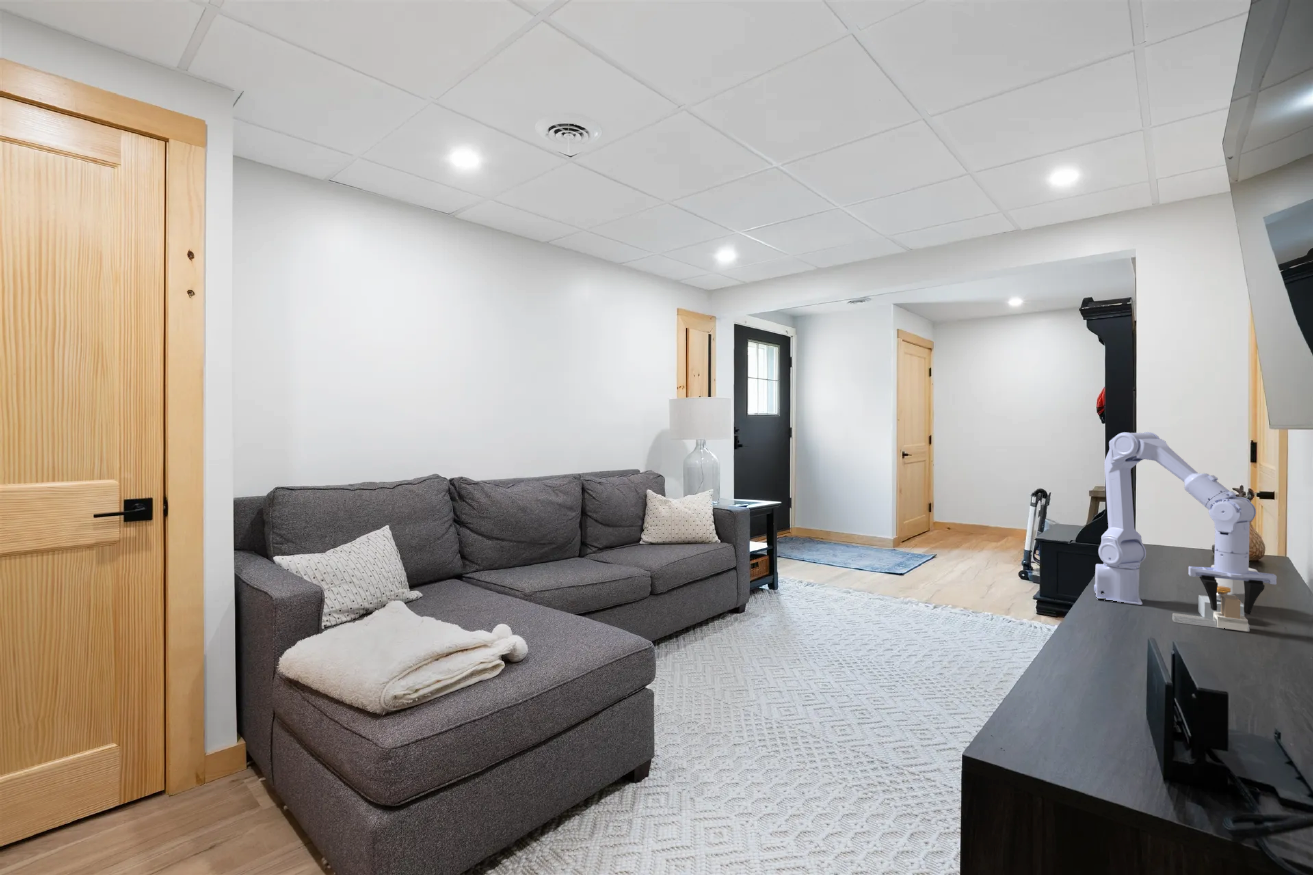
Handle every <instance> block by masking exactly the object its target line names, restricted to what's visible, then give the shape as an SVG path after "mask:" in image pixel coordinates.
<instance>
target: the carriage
mask: <svg viewBox="0 0 1313 875" xmlns="http://www.w3.org/2000/svg"><path fill="white" fill-rule="evenodd" d="M1240 602H1241V599H1240V598H1239V597H1238V596H1237V595H1234V596H1231V595H1222V594H1221V612H1214V611H1213V618H1216V619H1217V627H1218V629H1224V628H1225V629H1226V630H1231V629H1233V631H1239V630H1241V631H1240V632H1247V631H1248V624H1249V620H1248V619H1247V618H1246V616H1245V615H1244V616H1243V615H1240ZM1225 629H1224V630H1225Z"/></svg>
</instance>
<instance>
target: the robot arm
mask: <svg viewBox="0 0 1313 875" xmlns="http://www.w3.org/2000/svg"><path fill="white" fill-rule="evenodd" d="M1108 446H1109V450H1108V452H1107V454H1106V457H1105V459H1104V478H1105V479H1104V480H1105V482H1104V483H1105V495H1106V510H1107V523H1108V524H1107V526H1108V528H1107V529H1106V531H1104V533H1103V534H1102V535H1101V537H1100V538H1101V539H1100V540H1101V542H1100V545H1099V546H1098V551H1097V552H1098V556H1099V558H1100V560H1101V561H1102V562H1103V563H1096V564H1095V571H1094V572H1095V573H1094V584H1093V591H1094V593H1096V595H1095V598H1096V597H1097V598H1106V600H1113V601H1117V602H1116V603H1121V602H1124V603H1123V604H1130V605H1140V606H1141V605H1142V606H1143V602H1142V600H1141V598H1140V591H1139V590H1140V567H1141V563H1142V562H1144V561H1145V560H1146V557H1147V550H1146V547H1145V545H1144V544H1143V540H1142V539H1143V538H1142V535H1141V534H1140V533H1139V532H1138V531H1137V530H1136V529H1135V518H1134V517H1135V516H1134V504H1133V503H1134V502H1133V488H1132V473H1131V472H1132V471H1131V470H1132V468H1134V467H1135V466H1136V465H1137V464H1139V462H1142V461H1143V460H1147V461H1154V462H1156V463H1158V464H1159V465H1160V466H1162V467H1163V468H1164V469H1166V470H1167V471H1169V472H1170V473H1171V474H1172V475H1174V476H1176V477H1177V478H1178V479H1179V480H1180V481H1182V482H1183V484H1184V487H1183V488H1184V490H1185V491H1186V493H1187V494H1189V495H1190V496H1192V497H1193V498H1194V499H1195V500H1197V501H1198V502H1199V503H1200V504H1201V505H1202V506H1203V507H1205V508H1206V509H1207V510H1208V515H1209V517H1210V518H1211V520H1212V521H1213V523H1214V555H1213V556H1214V561H1213V565H1214V568H1213V567H1211V566H1210V567H1208V566H1190V565H1189V566H1188V575H1189V577H1199V579H1200V581H1201V582H1202V585H1203V587H1204V589H1205V591H1206V595H1207V596H1208V597H1209V600H1210V605H1211V609H1212V610H1215V611H1217V587H1218V583H1217V582H1216V579H1215V578H1221V579H1231V580H1241V581H1244V591H1245V594H1244V601H1243V603H1244V614H1246V615H1252V614H1251V613H1252V610H1253V607H1254V604H1255V603H1256V601H1257V599H1258V597H1259V596H1260V594H1261V593H1262V592H1263V591H1264V590H1265V584H1270V585H1277V575H1276V574H1275V573H1266V572H1259V571H1258V572H1253V571H1249V568H1250V567H1249V566H1250V562H1249V561H1250V524H1251V521H1253V520H1254V519H1255V517H1256V515H1257V508H1256V506H1255V505H1254V503H1252V502H1251V500H1250V499H1248V498H1246V497H1242V496H1241V497H1240V496H1236V495H1237V493H1236V492H1235V491H1231V490H1229V489H1228V488H1227V487H1225V486H1224V485H1223V484H1222V483H1220V482H1219V481H1218V480H1219V478H1218V477H1217V476H1216V475H1214V474H1212V475H1210V474H1209V473H1205V472H1203V473H1201V472H1199V473H1198V471H1196V470H1195V469H1194V468H1193V466H1191V465H1190V464H1188V462H1186V461H1185V460H1184V458H1182V457H1181V456H1180V455H1179V454H1178V453H1177V452H1175V451H1174V450H1173V449H1172V448H1171V447H1170V446H1169V445H1168V442H1166V440H1164V439H1162V438H1160V437H1159V436H1158V435H1157V434H1156V433H1154V432H1149V431H1147V432H1146V431H1145V432H1125V431H1124V432H1120V433H1118V434H1117V435H1115V436H1114V437H1112V438H1111V439H1110V440H1109V442H1108ZM1221 575H1222V576H1221ZM1228 576H1229V577H1228ZM1264 583H1265V584H1264ZM1102 593H1104V594H1102ZM1097 598H1096V599H1097ZM1113 601H1112V602H1113Z"/></svg>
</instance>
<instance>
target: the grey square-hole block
mask: <svg viewBox="0 0 1313 875" xmlns="http://www.w3.org/2000/svg"><path fill="white" fill-rule="evenodd" d="M1197 597H1198V599H1197V600H1198V603H1197V604H1198V605H1197V607H1198V608H1197V611H1198V613H1199V615H1200V616H1201V617H1209V618H1213V611H1214V612H1221V602H1217V611H1215V610H1212V609H1211V605H1210V600H1209V597H1208V595H1202V594H1201V595H1200V594H1198V596H1197ZM1240 615H1243V616H1244V617H1245V612H1244V606H1243V605H1242V604H1241V603H1240Z"/></svg>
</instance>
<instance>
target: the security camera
mask: <svg viewBox="0 0 1313 875" xmlns="http://www.w3.org/2000/svg"><path fill="white" fill-rule="evenodd" d="M1210 567H1213V568H1214V564H1211V566H1210ZM1249 571H1253V572H1259V571H1258V570H1257V569H1255V568H1251V567H1249ZM1221 576H1222V575H1221ZM1228 577H1229V576H1228ZM1215 579H1216V582H1217V583H1218V586H1225V587H1229V588H1231V592H1230V593H1228V595H1231V596H1235V595H1245V591H1244V581H1241V580H1231V579H1221V578H1215ZM1240 603H1241V604H1242V605H1243V606H1244V602H1241V601H1240Z"/></svg>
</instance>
